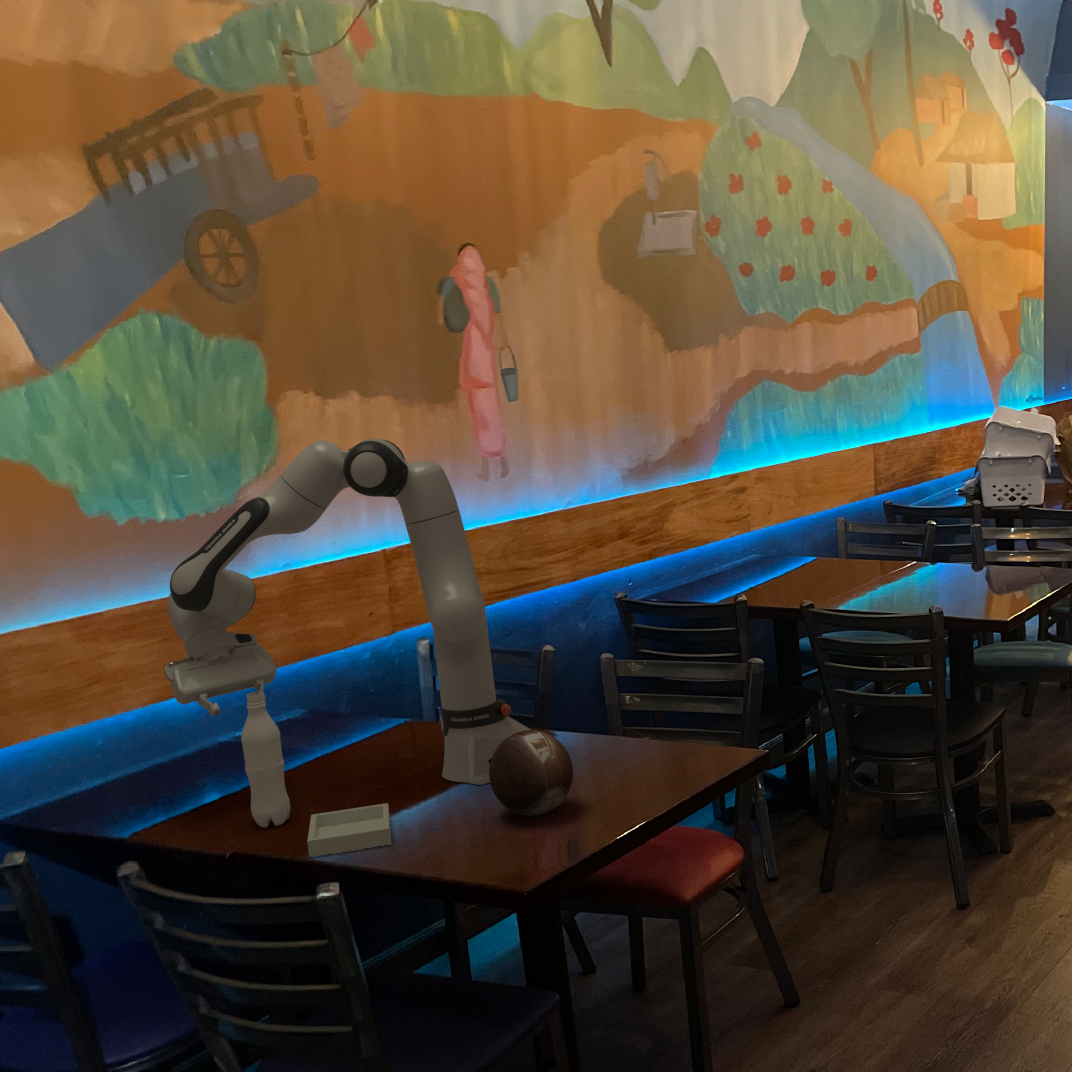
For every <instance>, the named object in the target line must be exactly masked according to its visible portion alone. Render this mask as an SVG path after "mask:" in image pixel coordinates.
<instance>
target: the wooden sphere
mask: <svg viewBox="0 0 1072 1072" xmlns="http://www.w3.org/2000/svg"><path fill="white" fill-rule="evenodd" d="M573 778H574V767H573V762H572V759H571V756H570V754H569V752H568V750H567V749H566V747H565V746H564V745H563V743H562V742H561V741H560V740H559V739H557V738H556V737H555V736H553V735H551V734H549V733H547V732H544V731H542V730H541V731H540V730H533V729H530V730H526V731H521V732H517V733H515V734H513V735H511V736H509V737H508V738H506V739H505V740H504V741H503V742H502V743H501V744H500V745H499V746H498V747H497V749H496V750H495V752H494V754H493V756H492V759H491V762H490V767H489V779H490V783H489V784H490V787H491V790H492V792H493V793H494V796H495V798H496V799H497V800H498V801H499V803H501V805H503V807H505V808H506V809H508V810H509V811H511V812H513V813H515V814H518V815H521V816H527V817H528V816H529V817H530V816H531V817H532V816H533V817H535V816H540V815H544V814H547V813H549V812H551V811H553V810H555V809H556V808H557V807H558V806H560V805H561V804H562V802H563V801H564V800H565V799H566V797H567V796H568V794H569V792H570V790H571V788H572V784H573V781H574V780H573Z"/></svg>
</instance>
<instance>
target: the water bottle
mask: <svg viewBox="0 0 1072 1072" xmlns="http://www.w3.org/2000/svg"><path fill="white" fill-rule="evenodd" d="M263 693H264V691H263V692H258V691H254V692H249V693H247V694H246V701H247V703H246V708H247V710H248V713H247V717H246V720H245V723H244V725H243V728H242V732H241V735H240V736H241V738H240V739H241V740H240V741H241V744H242V750H243V751H242V752H243V757H244V769H245V773H246V776H247V779H248V782H249V787H250V812H251V815H252V818H253V819H254V821H255V823H256V824H257V825H258V826H259V827H260V828H263V829H264V828H265V829H266V828H268V827H269V824H270V823H271V822H272V823H273V825H274V826H275V827H278V825H279V826H281V824H282V825H283V824H284V823H285V822H287V820H288V819H290V818H289V817H290V815H291V803H290V802H291V801H290V798H289V796H288V792H287V789H286V784H285V760H284V757H283V756H284V755H283V749H282V744H281V743H282V742H281V732H280V729H279V727H278V725H277V724H276V722H275V721H274V720H273V718H271V715H270V714H269V713H268V711H267V709H266V705H267V703H266V700H264V699H263V698H264V697H263Z"/></svg>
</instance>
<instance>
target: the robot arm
mask: <svg viewBox="0 0 1072 1072" xmlns="http://www.w3.org/2000/svg"><path fill="white" fill-rule="evenodd" d="M347 488H351V489H352V490H353V491H355V492H356V493H357V494H360V495H362V496H366V497H373V498H375V497H376V498H377V497H378V498H379V497H380V498H381V497H382V498H394V499H396V501H397V502H398V505H399V507H400V510H401V512H402V516H403V517H402V518H403V520H404V521H403V522H404V524H405V528H406V531H407V535H408V538H409V542H410V546H411V549H412V554H413V556H414V561H415V564H416V569H417V573H418V577H419V582H420V586H421V590H422V594H423V598H424V602H425V605H426V610H427V613H428V619H429V621H430V626H431V627H432V629H433V639H434V646H435V647H434V651H435V660H436V671H437V679H438V686H439V693H440V694H439V695H440V704H441V705H440V708H439V712H440V713H439V717H440V724H441V725H440V726H441V731H442V734H443V736H444V755H443V756H444V759H443V765H442V766H443V767H442V768H443V769H442V773H441V776H442V778H443V779H445V780H447V781H451V782H456V783H457V782H458V783H467V784H472V785H477V786H479V785H480V786H481V785H486V784H490V779H489V767H490V762H491V759H492V756H493V754H494V752H495V750H496V749H497V747H498V746H499V745H500V744H501V743H502V742H503V741H504V740H505V739H506V738H508V737H509V736H511V735H513V734H515V733H517V732H521V731H526V730H531V728H529V727H527V726H526V725H524V724H522V723H521V722H518V721H517V720H515V719H514V718H512V717H510V714H511V713H512V709H511V706H510V705H509V704H507V702H506V701H504V700H503V699H502V698H500V699H499V698H497V695H496V688H495V679H494V671H493V662H492V655H491V646H490V637H489V631H488V630H489V629H488V623H487V622H488V621H487V614H486V613H487V611H486V605H485V598H484V595H483V593H482V591H481V588H480V584H479V580H478V576H477V572H476V570H475V569H476V568H475V565H474V561H473V557H472V554H471V553H472V552H471V549H470V545H469V540H468V537H467V534H466V529H465V527H464V522H463V520H462V516H461V511H460V509H459V505H458V501H457V498H456V495H455V493H454V490H453V487H452V484H451V483H450V480H449V478H448V475H447V474H446V472H445V470H444V468H443V466H441V465H440V464H438V463H437V462H434V461H431V460H430V461H428V460H420V461H416V462H409V461H407V460H406V458H405V456H404V453H403V452H402V450H401V448H399V446H398V445H396V444H395V443H393V442H391V441H389V440H387V439H383V438H382V439H381V438H368V439H365V440H362V441H360V442H359V443H357V444H355V445H354V446H352V447H351V448H349V449H348V450H345V449H343V448H341V447H339V446H338V445H337V444H335V443H332V442H331V441H327V440H315V441H313V442H311V443H310V444H309V445H307V447H305V448H304V449H303V450H302V451H301V452H300V453H298V455H297V456H296V457H295V458H294V459H293V460H292V461H291V462H290V463H289V464H288V466H287V467H286V468H285V469H284V470H283V472H282V473H281V475H280V476H279V477H278V478H277V480H276V481H275V482H273V484H272V485H271V486H270V487H269V488H267V489H266V490H265V491H263V492H262V493H261V494H260V495H257V496H256V497H255V498H252V499H250V500H248V501H246V502H245V503H244V504H242V505H241V506H240V507H239V508H238V509H237V510H236V511H235V512H234V513H233V514H232V515H231V516H230V517H229V518H228V519H227V520H226V521H225V522H224V523H223V524H222V525H221V526H220V527H219V528H218V529H217V530H216V531H215V532H214V534H212V535H211V536H210V537H209V538H208V539H207V541H206V542H205V543H204V544H203V545H202V546H200V547H199V548H198V550H196V552H194V553H193V554H192V555H190V556H188V557H186V559H184V560H183V561H182V562H181V563H180V564H178V565H177V567H176V568H175V569H174V571H173V572H172V574H171V577H170V580H169V591H170V593H169V595H168V596H167V597H168V598H167V605H166V606H167V612H168V615H169V618H170V621H171V624H172V626H173V629H174V631H175V633H176V635H177V637H178V638H179V639H180V641H182V642H183V647H184V648H183V649H184V651H185V653H186V656H187V658H183V659H180V660H173V661H170V662H169V663H168V664H167V665H166V666H165V667H164V669H163V673H164V675H165V677H166V679H167V680H168V681H169V682H170V683H171V684H170V685H171V689H172V692H173V695H174V696H173V697H174V698H175V701H176V702H177V703H178V704H180V705H189V704H192V703H196V702H197V703H198V705H199V706H200V707H202V708H204V709H205V710H206V711H208V713H209V715H210V716H211V717H215V716H219V715H220V713H221V707H219V703H218V702H214V703H213V702H211V701H210V700H209V699H212V698H216V697H220V696H223V695H224V696H225V695H228V694H232V693H235V692H240V691H244V690H248V689H251V688H254V689H255V691H257V692H263V697H264V698H263V699H264V700H265V701H267V698H266V695H265V693H264V687H265V685H268V684H272V683H273V682H274V680H275V678H276V674H277V671H278V670H277V666H276V664H275V662H274V660H273V659H272V657H271V655H270V654H269V653H268V651H267V650H266V649H265V648H264V647H263V646H261V644H258V638H257V636H256V635H255V634H253V633H246V632H245V633H243V632H242V633H240V632H234V631H233V632H232V631H228V630H227V628H230V627H232V626H233V625H235V624H237V622H239V621H241V620H242V619H243V618H244V617H245V616H247V615H248V614H249V613H250V612H251V610H252V609H253V607H254V604H255V602H256V597H257V596H256V594H257V593H256V592H257V591H256V587H255V584H254V581H253V580H252V579H251V578H250V577H249V576H247V575H245V574H242V573H241V572H237V571H234V570H231V569H228V568H227V566H228V565H229V564H230V563H231V562H233V560H234V559H235V558H236V557H237V556H238V555H239V554H240V553H241V552H242V551H243V550H244V548H245V547H246V546H247V545H249V544H250V543H251V542H253V541H254V540H256V539H259V538H262V537H267V536H273V535H294V534H300V533H302V532H306V531H307V530H309V529H310V528H311V527H312V526H313V525H314V524H315V523H317V522H318V520H319V519H321V517H322V516H323V514H324V513H325V511H326V510H327V509H328V507H329V506H330V505H331V503H332V502H333V501H334V499H335V498H336V497H337V496H338V495H339V494H340V493H341V492H342V491H343V490H344V489H347Z"/></svg>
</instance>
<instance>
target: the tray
mask: <svg viewBox="0 0 1072 1072" xmlns="http://www.w3.org/2000/svg"><path fill="white" fill-rule="evenodd" d="M390 814H391V813H390V808H389V802H388V803H386V802H385V803H380V804H375V805H373V804H372V805H367V806H359V807H355V808H347V809H342V810H334V811H328V812H321V813H314V814H311V815H310V822H309V829H308V834H307V840H306V842H307V849H308V857H309V858H310V856H319V855H325V856H328V855H327V854H332V855H337V853H338V854H342V853H343V852H345V853H350V851H351V852H355V851H356V850H357V851H363V850H362V849H364V850H366V849H365V848H370V849H373V848H372V847H377V846H383V847H385V846H384V845H390V846H392V833H391V831H392V829H391V815H390ZM377 848H378V847H377ZM319 857H320V856H319Z"/></svg>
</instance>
